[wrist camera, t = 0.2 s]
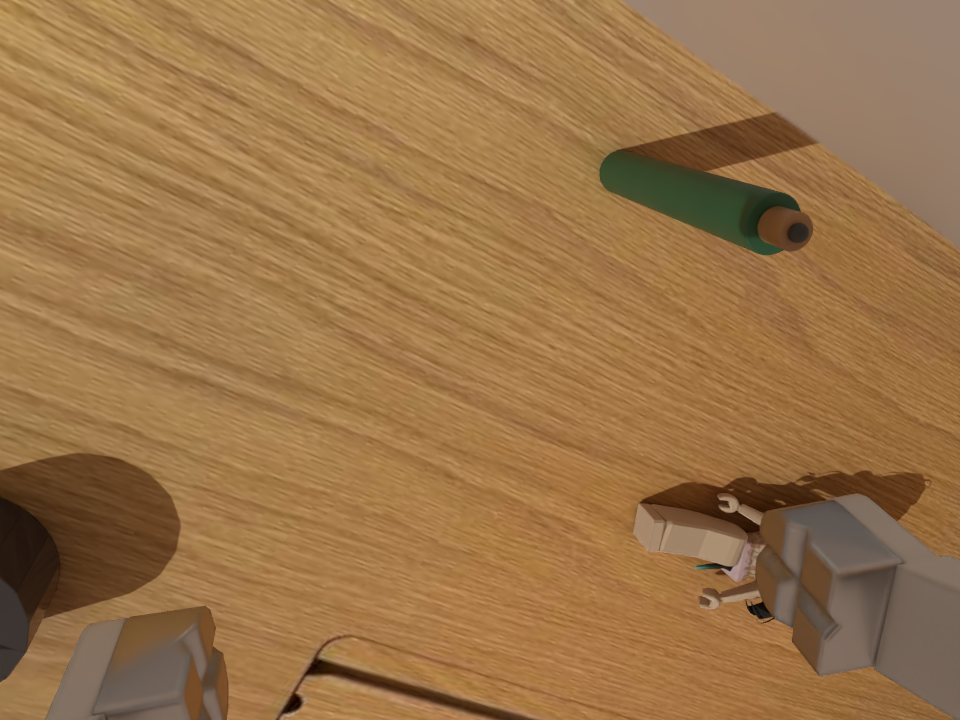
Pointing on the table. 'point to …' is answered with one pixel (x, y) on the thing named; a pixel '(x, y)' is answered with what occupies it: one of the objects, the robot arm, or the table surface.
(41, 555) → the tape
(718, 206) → the pencil
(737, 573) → the toy figure
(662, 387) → the table surface
